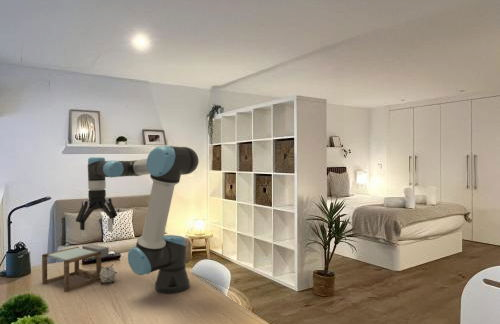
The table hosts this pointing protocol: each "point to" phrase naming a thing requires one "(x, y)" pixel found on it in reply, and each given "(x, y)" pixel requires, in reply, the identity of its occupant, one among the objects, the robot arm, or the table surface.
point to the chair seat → (80, 252)
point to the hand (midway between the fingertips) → (97, 234)
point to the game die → (107, 274)
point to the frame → (77, 272)
